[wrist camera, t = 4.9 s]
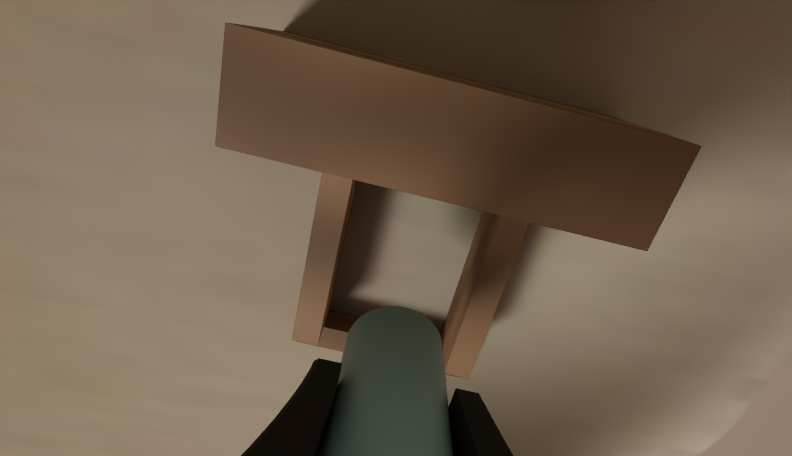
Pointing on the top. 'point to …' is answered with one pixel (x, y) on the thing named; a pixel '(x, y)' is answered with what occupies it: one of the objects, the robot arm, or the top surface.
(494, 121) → the cradle
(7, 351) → the top surface
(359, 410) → the peg
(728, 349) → the top surface
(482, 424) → the robot arm
